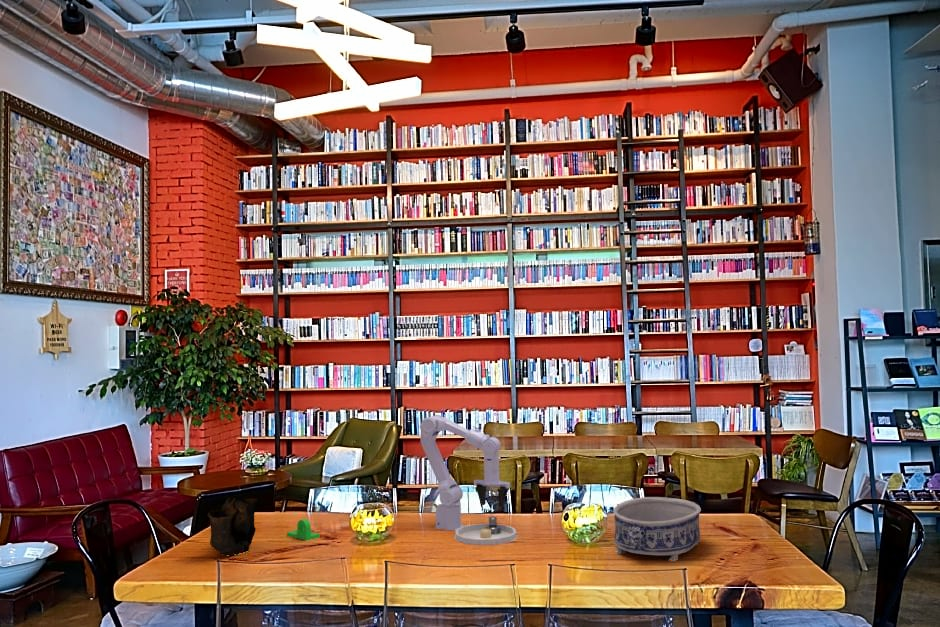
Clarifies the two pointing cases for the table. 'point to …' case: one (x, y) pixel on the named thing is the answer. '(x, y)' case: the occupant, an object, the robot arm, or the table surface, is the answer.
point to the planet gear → (493, 525)
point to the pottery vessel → (233, 525)
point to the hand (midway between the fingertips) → (492, 505)
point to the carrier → (484, 535)
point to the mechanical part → (303, 531)
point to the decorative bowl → (656, 526)
